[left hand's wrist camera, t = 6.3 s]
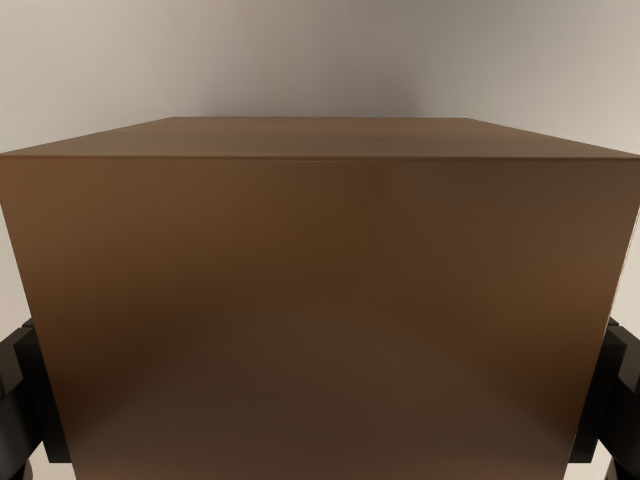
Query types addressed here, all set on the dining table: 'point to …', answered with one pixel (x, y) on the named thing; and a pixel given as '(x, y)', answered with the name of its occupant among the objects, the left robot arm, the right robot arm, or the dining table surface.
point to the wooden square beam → (320, 294)
